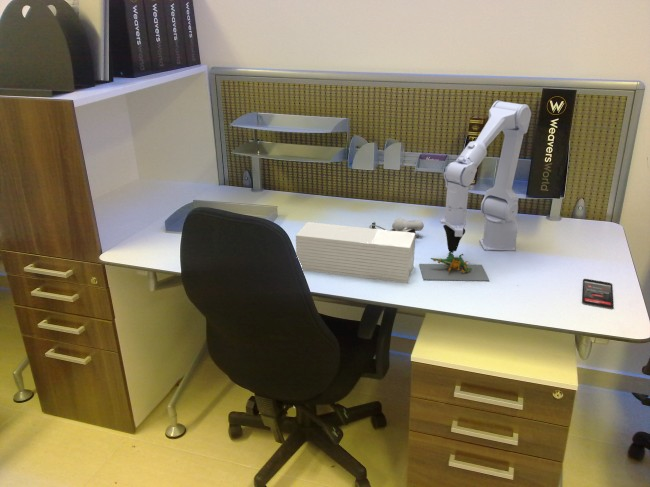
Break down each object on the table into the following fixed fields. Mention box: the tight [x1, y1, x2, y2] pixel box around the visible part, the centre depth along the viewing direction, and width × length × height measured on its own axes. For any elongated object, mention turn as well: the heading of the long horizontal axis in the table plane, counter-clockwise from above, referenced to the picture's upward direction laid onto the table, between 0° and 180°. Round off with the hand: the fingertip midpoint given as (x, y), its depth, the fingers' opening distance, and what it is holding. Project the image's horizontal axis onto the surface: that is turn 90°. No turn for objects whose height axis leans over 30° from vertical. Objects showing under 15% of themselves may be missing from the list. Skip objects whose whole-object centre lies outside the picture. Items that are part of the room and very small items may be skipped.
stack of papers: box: [295, 221, 417, 284], centre depth 163 cm, size 32×11×11 cm, turn 74°
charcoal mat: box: [419, 263, 491, 282], centre depth 162 cm, size 18×10×1 cm, turn 88°
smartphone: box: [581, 278, 615, 310], centre depth 150 cm, size 7×1×15 cm
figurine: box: [429, 250, 472, 273], centre depth 162 cm, size 3×12×8 cm
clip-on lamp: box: [369, 217, 425, 237], centre depth 186 cm, size 12×6×18 cm
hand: (452, 250), depth 164 cm, fingers closed
